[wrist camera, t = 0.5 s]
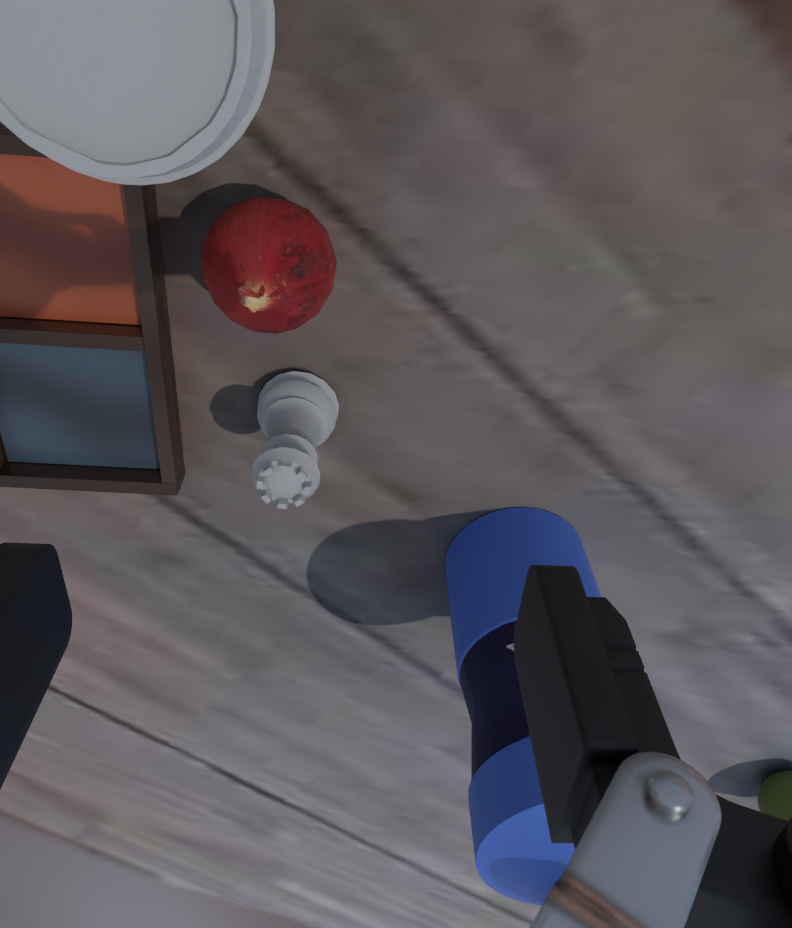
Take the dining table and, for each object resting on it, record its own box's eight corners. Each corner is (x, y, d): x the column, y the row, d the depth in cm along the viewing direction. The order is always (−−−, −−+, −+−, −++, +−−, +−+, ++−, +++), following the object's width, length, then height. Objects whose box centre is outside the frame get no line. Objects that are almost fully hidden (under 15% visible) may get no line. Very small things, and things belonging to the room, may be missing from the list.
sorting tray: (-96, 116, 32) (-124, 124, 30) (149, 135, 32) (136, 144, 31) (1, 465, 42) (-15, 486, 40) (185, 474, 43) (177, 495, 41)
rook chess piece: (353, 419, 41) (348, 505, 34) (284, 447, 42) (266, 537, 35) (315, 354, 38) (302, 433, 32) (243, 386, 39) (216, 469, 33)
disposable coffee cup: (16, -40, 29) (-176, -47, 19) (196, -221, 26) (82, -341, 16) (183, 170, 33) (100, 255, 23) (352, 36, 30) (339, 67, 20)
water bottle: (466, 493, 44) (546, 955, 23) (608, 520, 45) (801, 978, 25) (426, 600, 49) (462, 1058, 28) (554, 621, 50) (678, 1072, 30)
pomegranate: (315, 162, 33) (300, 209, 26) (354, 279, 36) (349, 347, 30) (198, 199, 34) (155, 253, 27) (246, 310, 37) (217, 383, 30)
